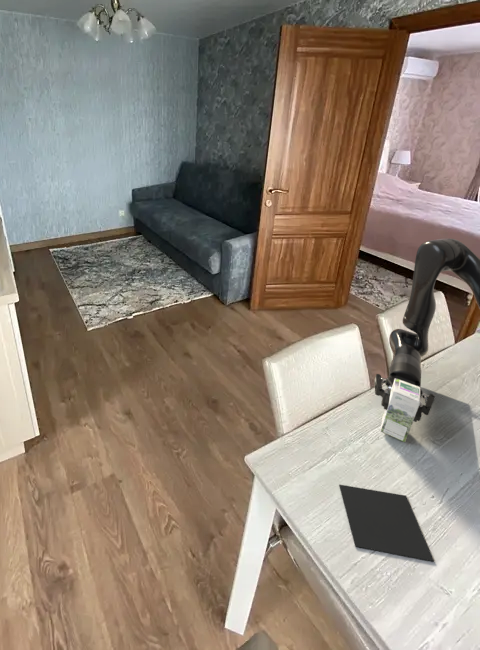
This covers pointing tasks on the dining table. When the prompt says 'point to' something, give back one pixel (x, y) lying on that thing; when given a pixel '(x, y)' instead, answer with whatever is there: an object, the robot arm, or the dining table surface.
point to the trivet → (384, 523)
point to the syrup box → (401, 409)
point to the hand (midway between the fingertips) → (400, 412)
